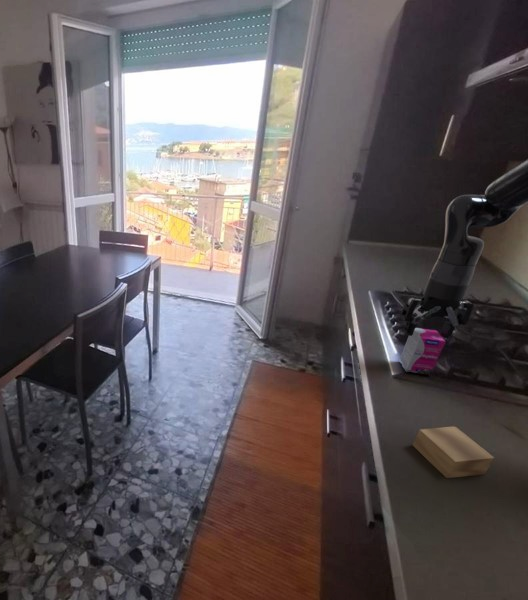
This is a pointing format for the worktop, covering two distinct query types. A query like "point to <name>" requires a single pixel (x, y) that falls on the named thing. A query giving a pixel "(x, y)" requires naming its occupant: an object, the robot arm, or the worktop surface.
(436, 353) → the supplement box
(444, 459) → the maple block
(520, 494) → the worktop surface
